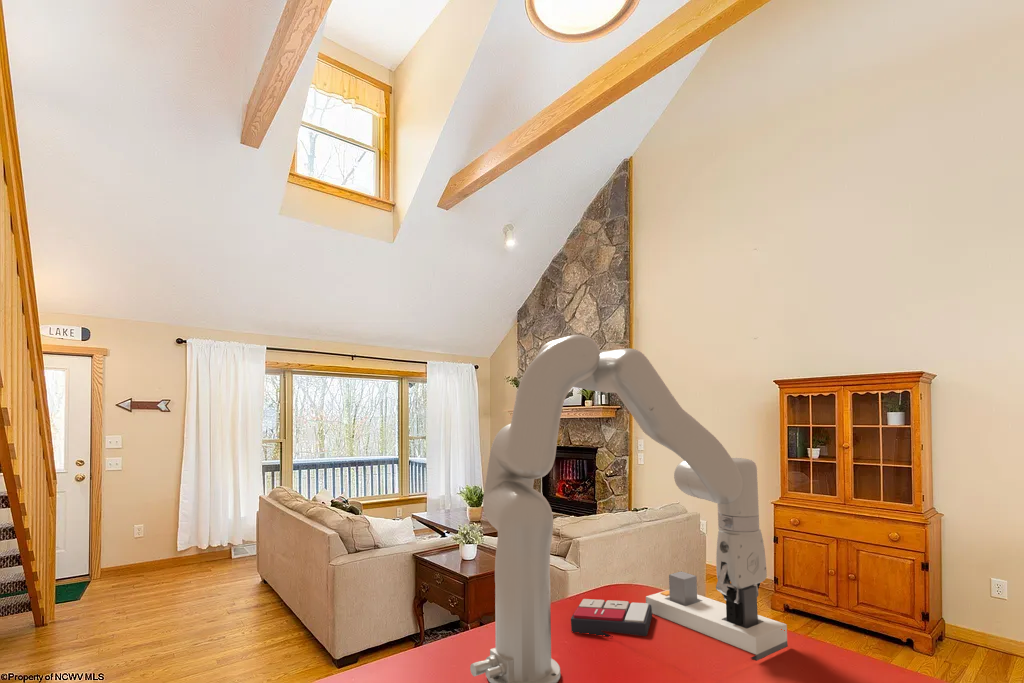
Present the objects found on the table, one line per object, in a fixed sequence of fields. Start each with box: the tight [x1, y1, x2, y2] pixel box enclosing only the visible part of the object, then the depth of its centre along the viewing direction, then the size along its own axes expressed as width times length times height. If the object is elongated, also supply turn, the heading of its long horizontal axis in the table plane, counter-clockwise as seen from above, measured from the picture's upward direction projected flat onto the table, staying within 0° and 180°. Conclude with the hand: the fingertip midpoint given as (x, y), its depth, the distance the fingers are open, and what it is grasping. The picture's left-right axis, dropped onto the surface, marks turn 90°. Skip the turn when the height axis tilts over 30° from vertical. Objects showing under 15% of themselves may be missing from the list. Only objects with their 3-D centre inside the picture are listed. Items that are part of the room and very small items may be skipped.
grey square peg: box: [668, 571, 698, 606], centre depth 124 cm, size 4×4×8 cm
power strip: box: [645, 589, 788, 661], centre depth 118 cm, size 10×26×4 cm, turn 35°
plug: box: [727, 585, 759, 628], centre depth 113 cm, size 4×4×8 cm
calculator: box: [570, 598, 653, 638], centre depth 121 cm, size 11×4×15 cm
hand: (742, 619), depth 113 cm, fingers closed on plug, 4 cm apart
